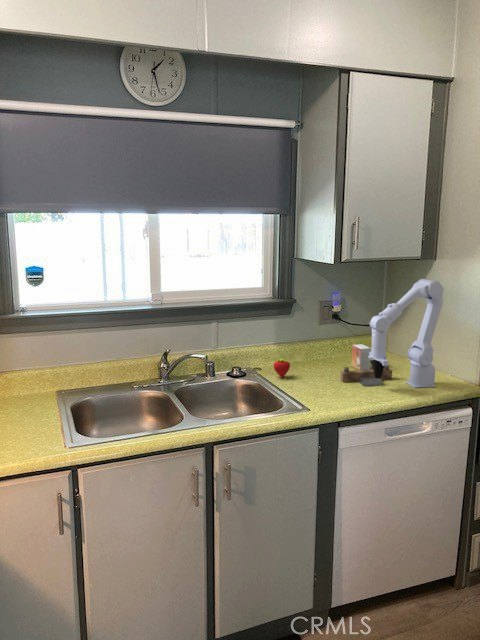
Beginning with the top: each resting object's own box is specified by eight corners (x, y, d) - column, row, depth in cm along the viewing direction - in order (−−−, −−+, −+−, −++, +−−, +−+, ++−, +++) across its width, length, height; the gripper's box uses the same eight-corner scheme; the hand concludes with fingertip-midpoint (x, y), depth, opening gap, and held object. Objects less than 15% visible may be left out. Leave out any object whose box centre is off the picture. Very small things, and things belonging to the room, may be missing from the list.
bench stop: (388, 377, 233) (389, 364, 232) (391, 379, 230) (392, 366, 229) (340, 380, 230) (340, 366, 229) (342, 382, 227) (343, 368, 226)
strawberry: (271, 376, 237) (271, 354, 235) (287, 374, 239) (287, 353, 237) (275, 380, 231) (275, 357, 229) (292, 378, 233) (292, 356, 231)
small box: (351, 366, 250) (351, 344, 248) (361, 365, 252) (362, 343, 249) (359, 371, 242) (360, 348, 240) (370, 370, 244) (371, 347, 242)
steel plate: (375, 381, 229) (376, 375, 229) (381, 385, 223) (381, 380, 223) (358, 382, 228) (358, 377, 227) (363, 387, 222) (363, 381, 222)
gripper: (362, 341, 221) (361, 373, 224) (376, 350, 207) (375, 384, 210) (378, 340, 222) (377, 372, 225) (393, 349, 208) (392, 382, 211)
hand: (377, 377), depth 217 cm, fingers closed
